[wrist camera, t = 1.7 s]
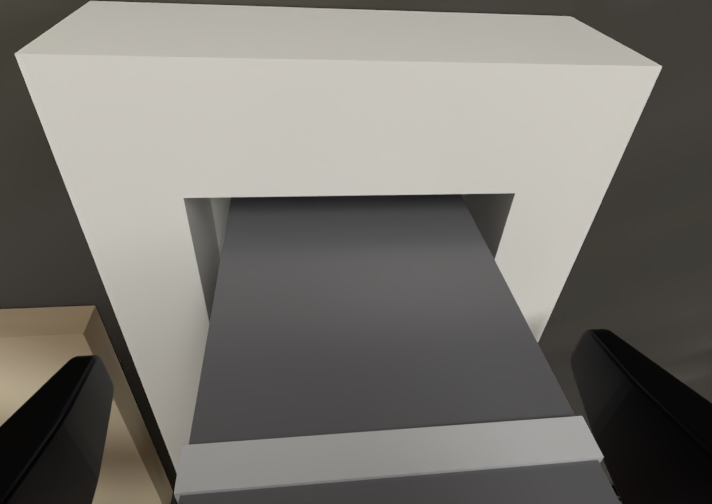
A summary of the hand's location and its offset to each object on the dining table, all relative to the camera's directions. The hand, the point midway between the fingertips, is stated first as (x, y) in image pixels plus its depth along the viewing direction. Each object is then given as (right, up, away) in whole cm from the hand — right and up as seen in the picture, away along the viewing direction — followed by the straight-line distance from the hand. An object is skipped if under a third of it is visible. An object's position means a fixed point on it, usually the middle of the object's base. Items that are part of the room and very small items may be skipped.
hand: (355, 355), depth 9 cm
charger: (0, +2, +2) cm, 3 cm away
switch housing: (-1, 0, +6) cm, 6 cm away
